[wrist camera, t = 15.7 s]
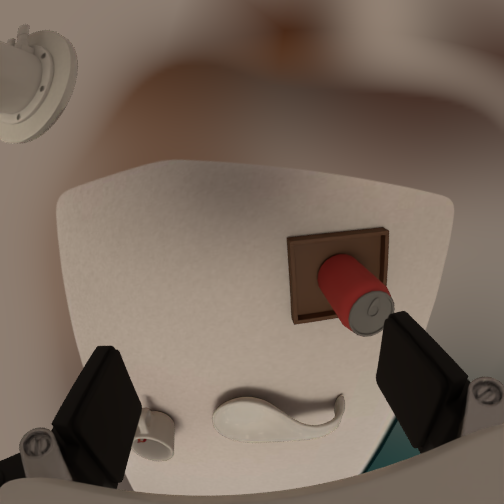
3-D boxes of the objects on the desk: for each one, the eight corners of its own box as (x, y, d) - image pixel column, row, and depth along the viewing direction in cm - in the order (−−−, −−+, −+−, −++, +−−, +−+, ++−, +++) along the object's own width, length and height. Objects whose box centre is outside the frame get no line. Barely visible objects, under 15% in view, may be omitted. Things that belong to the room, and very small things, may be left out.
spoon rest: (215, 428, 50) (214, 457, 43) (210, 386, 47) (207, 416, 40) (335, 419, 51) (345, 445, 45) (346, 377, 48) (359, 404, 41)
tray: (286, 237, 40) (289, 241, 38) (382, 227, 40) (389, 230, 38) (291, 317, 43) (293, 324, 42) (379, 303, 44) (384, 309, 42)
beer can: (364, 256, 41) (406, 290, 29) (352, 298, 43) (386, 342, 31) (322, 248, 40) (355, 283, 29) (311, 293, 42) (336, 339, 30)
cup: (127, 395, 47) (115, 425, 39) (167, 394, 47) (160, 427, 39) (146, 431, 50) (139, 460, 42) (183, 431, 50) (179, 462, 42)
